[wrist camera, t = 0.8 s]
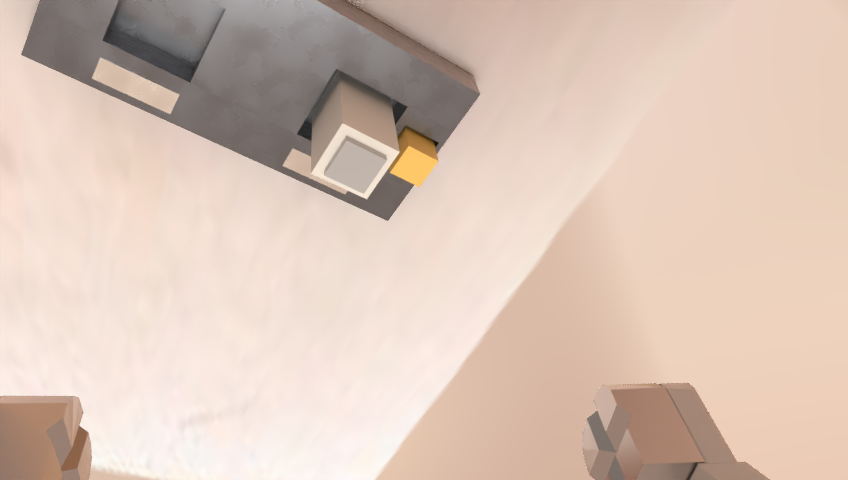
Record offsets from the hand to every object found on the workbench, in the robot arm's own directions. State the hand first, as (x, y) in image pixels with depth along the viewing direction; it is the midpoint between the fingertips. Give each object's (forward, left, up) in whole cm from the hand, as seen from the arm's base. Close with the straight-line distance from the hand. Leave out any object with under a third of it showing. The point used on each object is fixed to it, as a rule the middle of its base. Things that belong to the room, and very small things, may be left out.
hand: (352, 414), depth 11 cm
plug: (+11, +8, -39) cm, 41 cm away
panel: (+11, +1, -39) cm, 41 cm away
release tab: (+11, +13, -38) cm, 42 cm away
